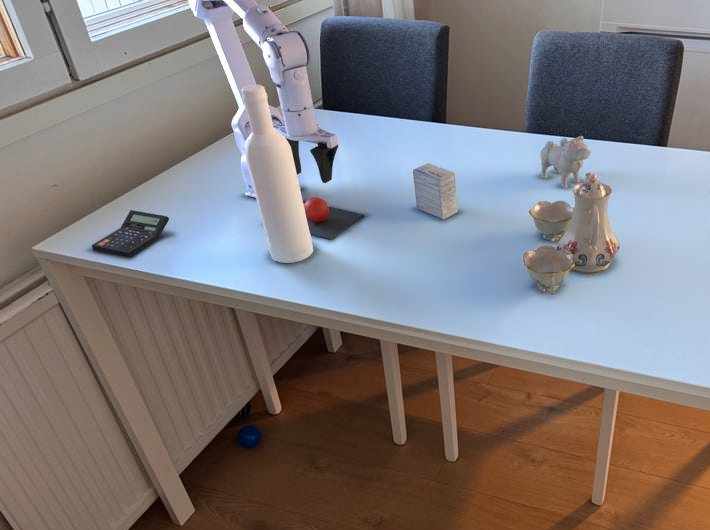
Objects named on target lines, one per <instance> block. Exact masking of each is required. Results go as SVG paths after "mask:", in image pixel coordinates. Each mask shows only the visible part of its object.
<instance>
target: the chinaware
mask: <svg viewBox="0 0 710 530" xmlns="http://www.w3.org/2000/svg"><path fill="white" fill-rule="evenodd" d="M584 178H585V179H584V182H581V183H576V185H575V186H572V190H571V191H572V193H573V195H574V207H572V206H571V205H570V204H569V203H568V202H567V201H565V200H557V201H553V202H550V201H547V200H542V201H538V202H537V203H535V205H534V206H533V207H532V208H530V209H529V210H528V214H529V215H530V216H531V217H532V218H533V221H534V225H535V227H536V229H537V230H538V231H539V232H540V233H541V234H542V236H543V240H547V241H552V242H554V241H558V242H557V244H556V247H554V246H552V245H543V246H542V245H541V246H539V247H537V248H536V249H535V250H527V251H526V252H525V253H523V264H524V267H525V268H526V270H527V272H528V275H529V278H531V280H532V281H533V282H534V283H535V284H537V286H536V287H537V288H538V289H539V290H540V291H541V292H547V293H550V295H551V296H553V295H554V294H555V292H556V290H557V289H558V288H559V286H560V284H562V283H563V282H564V281H565V280H566V279H567V277H568V275H569V273H570V271H573V272H576V273H581V274H598V273H601V272H603V271H606V270H607V269H608V268H610V266H611V263H612V262H613V260H614V259H615V257H616V254H617V253H618V252H619V250H620V248H621V245H620V242H619V239H618V238H617V236H616V235H615V232H614V231H613V229H612V228H611V224H610V220H609V213H608V205H609V200H610V196H611V195H612V193H613V189H612V188H611V186H609V185H607V184H606V183H602V182H601V181H600V180H598V179H599V178H598V176H596V173H592V172H587V173H585V175H584Z"/></svg>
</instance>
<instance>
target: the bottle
mask: <svg viewBox="0 0 710 530" xmlns="http://www.w3.org/2000/svg"><path fill="white" fill-rule="evenodd" d="M242 99H243V101H244V103H245V107H246V111H247V114H248V118H249V122H248V123H249V124H250V126H251V130H252V133H251V134H250V136H249V137H248V139H247V140H246V142H245V158H246V162H247V166H248V170H249V173H250V177H251V181H252V185H253V189H254V192H255V196H256V198H255V200H256V203H257V207H258V210H259V211H258V212H259V214H260V218H261V222H262V226H263V230H264V233H265V237H266V243H267V248H268V251H269V252H270V256H271V258H272V259H273V261H275V262H278V263H282V264H292V263H299V262H301V261H304V260H305V259H307V258H308V257H310V256H311V255H312V254H313V252H314V246H313V239H312V235H310V232H309V228H308V223H307V218H306V214H305V209H304V205H303V200H304V199H303V196H302V191H301V189H300V181H299V178H298V175H297V173H296V168H295V164H294V159H293V155H292V150H291V146H290V145H289V143H288V141H287V139H286V138H285V136H284V135H282V134H281V133H279V132H278V131H276V130H275V129H274V127H273V123H272V118H271V114H270V110H269V105H270V104H269V102H268V99H269V98H268V94H267V92H266V87H265V86H263V85H262V84H257V85H248V86H245V87H243V89H242Z"/></svg>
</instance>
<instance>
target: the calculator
mask: <svg viewBox="0 0 710 530" xmlns="http://www.w3.org/2000/svg"><path fill="white" fill-rule="evenodd" d="M169 220H170V218H169V217H168V216H167V215H162V214H156V213H150V212H146V211H145V212H144V211H139V210H134V209H133V210H132V209H130V210H129V212H128V214H127V215H126V217H125V219H124V221H123V223H122V224H121V226H120V227H119V228H118V229H116V230H115V231H112V232H111V233H109V234H107V235H105V236H104V237H103V238H101V239H100V240H98V241H96V242H95V243H93V244H91V248H92V250H94V251H100V252H104V253H109V254H114V255H118V256H119V255H120V256H124V257H129V258H130V257H132V256H134V255H135V254H137V253H139V252H140V251H142V250H143V249H145V248H146V247H148V246H149V245H151V244H153V243H154V242H155V241H157V240H158V239H160V237H161V235H162V233H163V232H164V229H165V228H166V226H167V224H168V223H169V222H170V221H169Z"/></svg>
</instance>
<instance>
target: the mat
mask: <svg viewBox="0 0 710 530" xmlns="http://www.w3.org/2000/svg"><path fill="white" fill-rule="evenodd" d="M302 200H303V205H304V204H305V202H306V201H307V200H304V199H302ZM328 206H329V215H328V217H327V219H326V220H324V221H323V222H320V223H314V222H311V221H309V220H308V219H307V223H308V228H309V232H310V235H311V236H314V237H317V238H320V239H325V240H328V241H332V240H333V239H334V238H336V237H338V236H339V235H340V234H341V233H343V232H344V231H346V230H348V229H349V228H350V227H351V226H353V225H354V224H356V223H357V222H358V221H360V220H361V219H363V218H364V217H365V214H364V213H360V212H355V211H352V210H346V209H343V208H338V207H334V206H330V205H328Z"/></svg>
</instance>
